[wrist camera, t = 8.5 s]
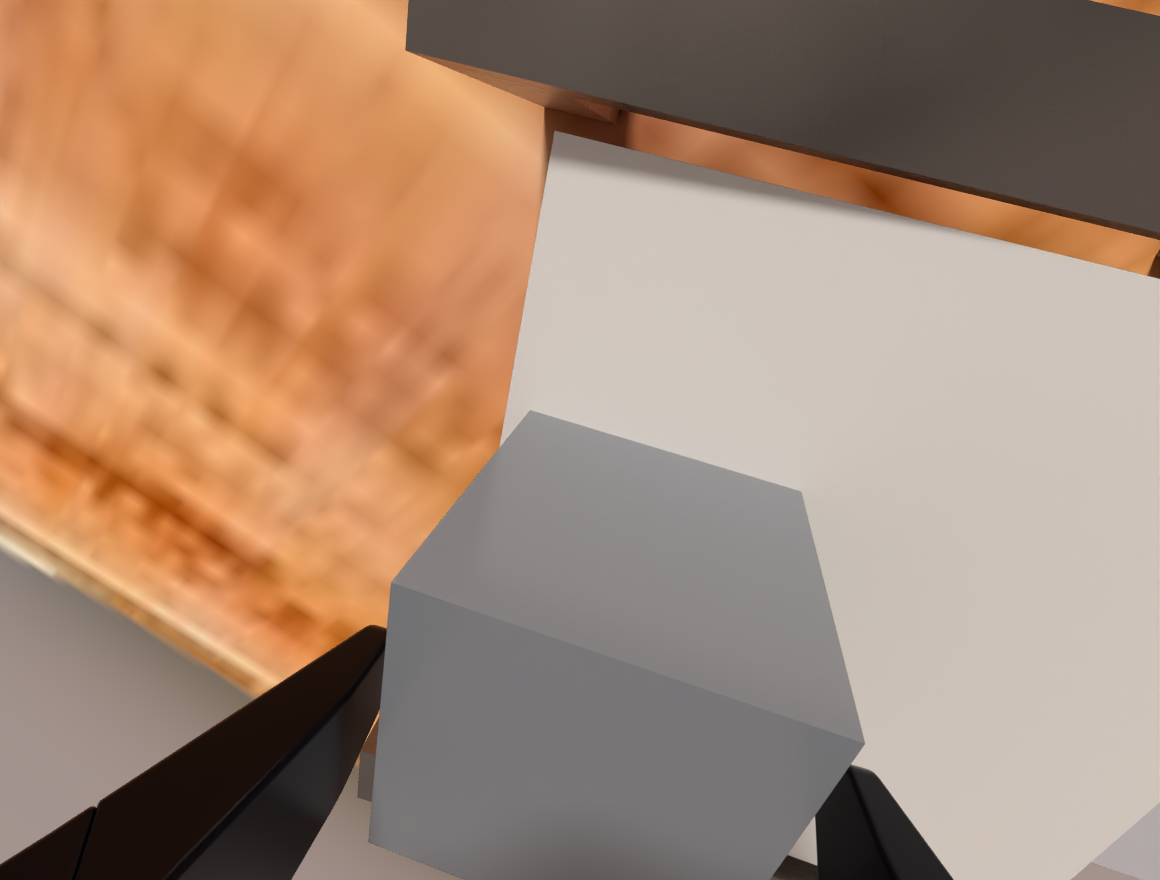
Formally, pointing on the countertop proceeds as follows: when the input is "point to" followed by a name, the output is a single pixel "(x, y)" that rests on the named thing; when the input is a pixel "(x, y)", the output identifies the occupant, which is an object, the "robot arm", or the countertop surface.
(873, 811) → the robot arm
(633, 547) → the grey matte cube
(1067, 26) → the frame
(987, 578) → the trapdoor
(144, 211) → the countertop surface
